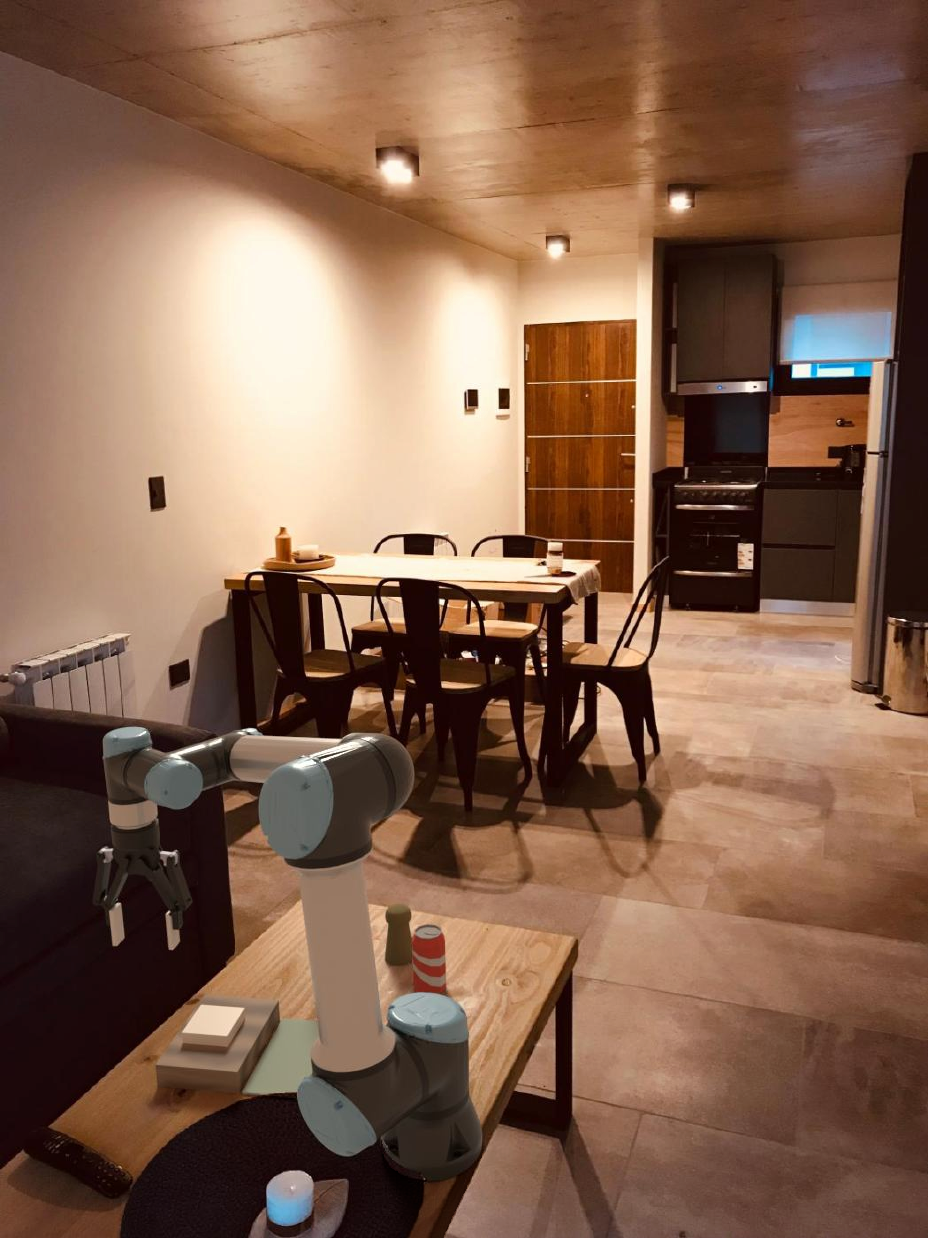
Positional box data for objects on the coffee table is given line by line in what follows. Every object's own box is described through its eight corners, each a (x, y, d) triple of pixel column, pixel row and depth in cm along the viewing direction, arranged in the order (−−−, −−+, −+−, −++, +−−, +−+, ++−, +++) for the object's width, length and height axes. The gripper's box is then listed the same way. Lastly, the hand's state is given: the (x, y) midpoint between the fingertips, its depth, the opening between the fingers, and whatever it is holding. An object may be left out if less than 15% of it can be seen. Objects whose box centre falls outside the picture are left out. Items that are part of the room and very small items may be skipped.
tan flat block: (239, 1094, 165) (237, 1072, 164) (157, 1086, 167) (155, 1065, 166) (280, 1020, 184) (278, 1000, 183) (206, 1014, 186) (204, 994, 185)
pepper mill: (386, 949, 207) (384, 899, 204) (416, 949, 206) (414, 899, 204) (383, 966, 201) (380, 915, 198) (413, 966, 200) (412, 915, 198)
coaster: (227, 1046, 170) (227, 1036, 170) (182, 1043, 172) (181, 1032, 171) (245, 1018, 178) (244, 1008, 178) (201, 1015, 179) (201, 1004, 179)
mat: (331, 1102, 162) (331, 1100, 162) (242, 1094, 165) (241, 1092, 165) (363, 1026, 182) (363, 1024, 181) (282, 1020, 184) (282, 1018, 184)
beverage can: (442, 1000, 189) (441, 941, 186) (409, 996, 190) (407, 938, 188) (449, 981, 195) (448, 924, 192) (417, 978, 196) (415, 921, 194)
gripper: (206, 814, 170) (216, 936, 175) (84, 808, 174) (97, 928, 179) (188, 833, 163) (198, 960, 168) (60, 826, 166) (74, 951, 171)
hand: (146, 943), depth 173 cm, fingers open, 9 cm apart
